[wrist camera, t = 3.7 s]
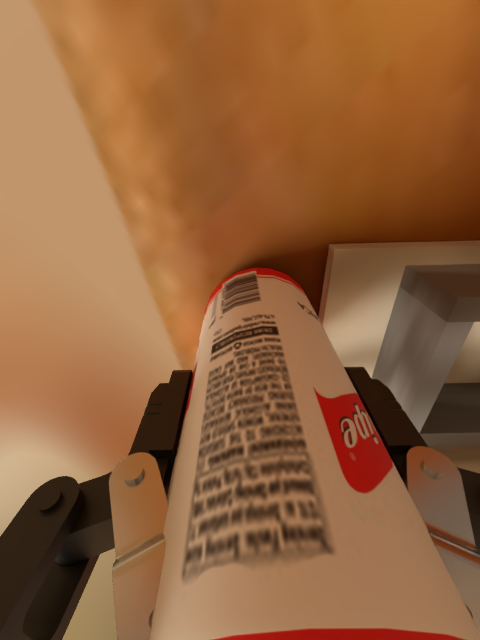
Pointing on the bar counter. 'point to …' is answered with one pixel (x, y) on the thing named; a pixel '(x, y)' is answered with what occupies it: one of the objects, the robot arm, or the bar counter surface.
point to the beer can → (290, 493)
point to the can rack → (413, 332)
